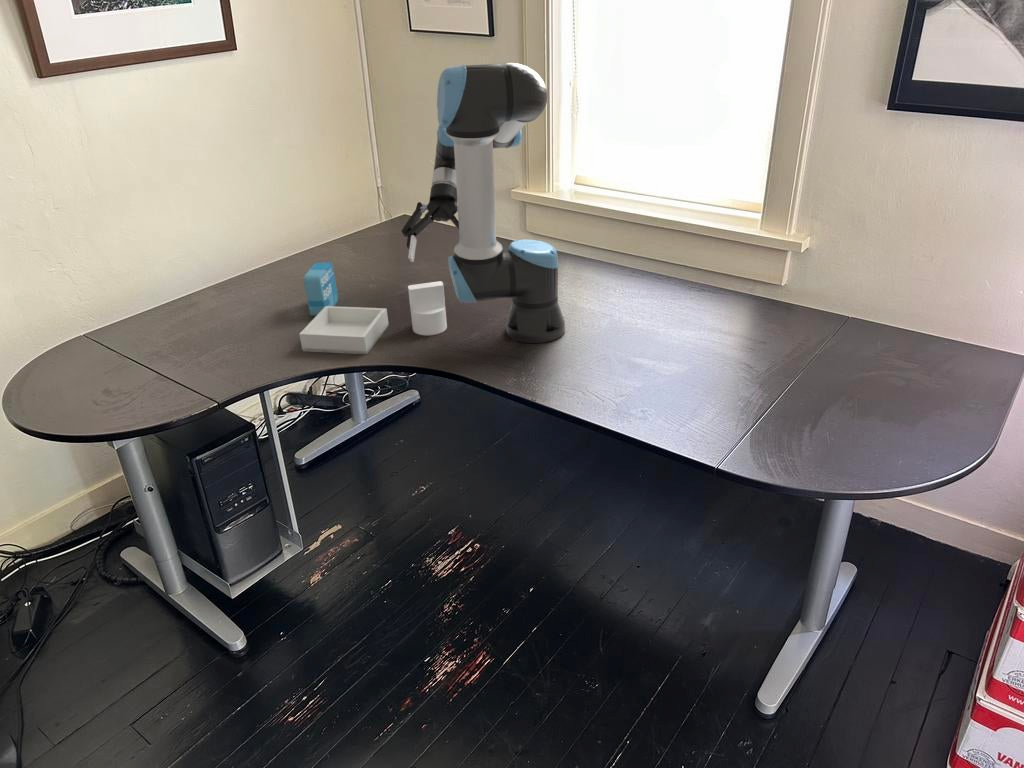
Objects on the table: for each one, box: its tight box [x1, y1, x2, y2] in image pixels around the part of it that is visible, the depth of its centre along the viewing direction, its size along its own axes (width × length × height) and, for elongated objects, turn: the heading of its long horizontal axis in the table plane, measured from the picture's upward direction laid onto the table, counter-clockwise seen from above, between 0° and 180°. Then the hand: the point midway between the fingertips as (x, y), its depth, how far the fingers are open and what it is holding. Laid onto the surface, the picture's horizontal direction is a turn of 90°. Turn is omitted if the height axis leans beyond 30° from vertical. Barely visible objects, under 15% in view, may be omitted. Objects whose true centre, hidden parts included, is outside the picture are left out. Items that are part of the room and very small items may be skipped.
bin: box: [298, 305, 390, 356], centre depth 191 cm, size 17×17×5 cm
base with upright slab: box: [407, 280, 448, 336], centre depth 193 cm, size 9×9×12 cm
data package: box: [303, 262, 339, 317], centre depth 206 cm, size 12×4×12 cm, turn 175°
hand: (435, 260), depth 198 cm, fingers open, 13 cm apart
